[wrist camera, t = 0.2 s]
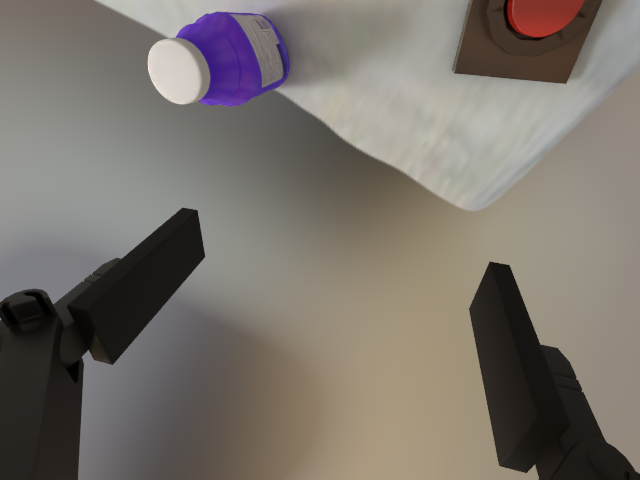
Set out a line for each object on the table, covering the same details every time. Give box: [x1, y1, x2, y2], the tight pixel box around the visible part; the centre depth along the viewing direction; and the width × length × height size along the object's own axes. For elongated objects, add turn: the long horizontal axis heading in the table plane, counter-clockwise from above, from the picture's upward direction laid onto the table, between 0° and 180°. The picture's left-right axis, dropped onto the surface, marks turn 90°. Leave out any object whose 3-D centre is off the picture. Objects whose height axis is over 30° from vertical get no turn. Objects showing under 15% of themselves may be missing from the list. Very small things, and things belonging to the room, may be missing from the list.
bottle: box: [148, 12, 289, 106], centre depth 30 cm, size 7×6×17 cm
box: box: [452, 0, 602, 84], centre depth 28 cm, size 12×10×4 cm
